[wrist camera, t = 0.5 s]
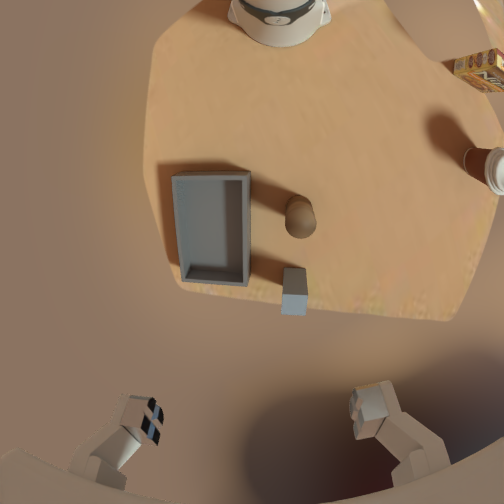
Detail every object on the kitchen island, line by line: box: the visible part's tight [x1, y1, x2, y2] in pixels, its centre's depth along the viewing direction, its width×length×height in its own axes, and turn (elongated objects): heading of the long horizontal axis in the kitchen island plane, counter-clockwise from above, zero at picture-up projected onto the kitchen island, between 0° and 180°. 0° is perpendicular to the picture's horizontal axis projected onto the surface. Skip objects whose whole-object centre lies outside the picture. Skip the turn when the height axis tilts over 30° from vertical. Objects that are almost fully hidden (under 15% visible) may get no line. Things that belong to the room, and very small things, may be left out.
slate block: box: [281, 267, 308, 315], centre depth 55 cm, size 4×4×10 cm
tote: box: [171, 171, 251, 287], centre depth 54 cm, size 22×14×5 cm, turn 0°
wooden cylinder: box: [285, 196, 316, 239], centre depth 49 cm, size 5×5×9 cm
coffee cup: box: [463, 147, 504, 195], centre depth 37 cm, size 9×9×12 cm
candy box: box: [453, 48, 504, 93], centre depth 28 cm, size 9×4×15 cm, turn 80°
